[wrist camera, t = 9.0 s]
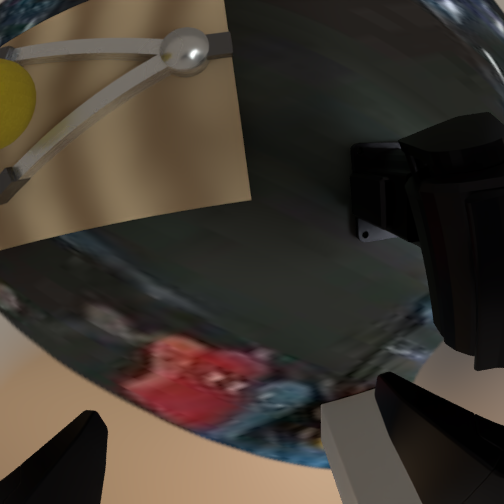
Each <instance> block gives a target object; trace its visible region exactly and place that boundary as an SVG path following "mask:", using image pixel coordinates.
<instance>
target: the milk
mask: <svg viewBox="0 0 504 504" xmlns="http://www.w3.org/2000/svg"><path fill="white" fill-rule="evenodd" d="M321 441H322V444H323V447H324V450H325V452H326V455H327V458H328V461H329V464H330V467H331V470H332V473H333V476H334V479H335V482H336V485H337V488H338V491H339V494H340V497H341V500H342V502H343V504H422V502H421V500H420V498H419V496H418V494H417V492H416V490H415V488H414V485H413V483H412V481H411V479H410V477H409V475H408V473H407V471H406V469H405V467H404V465H403V463H402V461H401V459H400V457H399V455H398V453H397V451H396V449H395V447H394V445H393V443H392V441H391V439H390V437H389V435H388V432H387V430H386V427H385V424H384V421H383V418H382V416H381V413H380V410H379V408H378V405H377V402H376V399H375V389H372V390H369V391H366V392H363V393H360V394H356V395H353V396H350V397H346V398H343V399H339V400H336V401H332V402H328V403H325V404H321Z"/></svg>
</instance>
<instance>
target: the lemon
mask: <svg viewBox="0 0 504 504" xmlns="http://www.w3.org/2000/svg"><path fill="white" fill-rule="evenodd" d="M35 106H36V89H35V84H34V82H33V80H32V78H31V76H30V74H29V73H28V72H27V71H26V70H25V69H24V68H23V67H22V66H21V65H19V64H18V63H16V62H13V61H10V60H6V59H1V58H0V149H2V148H4V147H6V146H8V145H10V144H11V143H13V142H14V141H15V140H16V139H17V138H18V137H19V136H20V135H21V134H22V133H23V132H24V131H25V129H26V128H27V126H28V124H29V123H30V121H31V119H32V116H33V113H34V111H35Z"/></svg>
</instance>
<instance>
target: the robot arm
mask: <svg viewBox="0 0 504 504" xmlns="http://www.w3.org/2000/svg"><path fill="white" fill-rule="evenodd" d="M398 142H399V143H357V144H354V145H353V146H352V147H351V159H352V170H353V173H352V175H351V176H350V181H351V195H352V212H353V215H354V216H356V235H357V238H358V239H359V240H361V241H362V242H369V241H376V240H382V239H388V238H394V237H400V238H402V239H404V240H406V241H408V242H411V243H413V244H415V245H417V246H419V247H421V250H422V254H423V259H424V264H425V269H426V275H427V280H428V286H429V292H430V298H431V305H432V313H433V321H434V324H435V326H436V327H437V329H438V330H439V332H440V334H441V335H442V336H443V337H444V342H445V344H447V345H448V346H450V347H451V348H453V349H454V350H456V351H459V352H461V353H464V354H467V355H470V356H475V360H474V369H475V370H477V371H481V370H487V369H492V368H504V125H503V124H502V123H501V122H500V121H499V120H498V119H497V118H495V117H494V116H493V115H492V114H491V113H489V112H485V113H477V114H470V115H464V116H458V117H455V118H452V119H450V120H447V121H444V122H442V123H439V124H437V125H434V126H432V127H429V128H427V129H424V130H422V131H419V132H417V133H415V134H412V135H410V136H407V137H405V138H402V139H400V140H398ZM357 148H360V149H361V153H360V155H359V154H358V153H357ZM364 231H366V235H365V236H364V237H362V233H363V232H364ZM375 399H376V402H377V405H378V408H379V410H380V413H381V416H382V418H383V421H384V424H385V427H386V430H387V432H388V435H389V437H390V439H391V441H392V443H393V445H394V447H395V449H396V451H397V453H398V455H399V457H400V459H401V461H402V463H403V465H404V467H405V469H406V471H407V473H408V475H409V477H410V479H411V481H412V483H413V485H414V488H415V490H416V492H417V494H418V496H419V498H420V500H421V502H422V504H504V426H503V425H500V424H497V423H495V422H492V421H490V420H488V419H486V418H483V417H481V416H479V415H477V414H475V415H474V413H473V412H470V411H468V410H466V409H464V408H462V407H460V406H458V405H456V404H454V403H452V402H450V401H448V400H446V399H444V398H441V397H439V396H437V395H435V394H433V393H431V392H429V391H427V390H425V389H423V388H421V387H419V386H418V385H416V384H414V383H412V382H410V381H408V380H406V379H404V378H402V377H400V376H398V375H396V374H394V373H392V372H386V373H383V374H380V375H378V377H377V381H376V387H375ZM107 438H108V430H107V426H106V425H105V423H104V422H103V420H102V419H101V417H100V415H99V414H98V412H96V411H91V410H86V411H84V412H83V413H81V414H80V415H79V416H78V417H77V418H75V419H74V420H73V421H72V422H71V423H70V424H68V425H67V426H66V427H65V428H64V429H62V430H61V431H60V432H59V433H58V434H57V435H55V436H54V437H53V438H52V439H51V440H50V441H48V442H47V443H46V444H45V445H44V446H42V447H41V448H40V449H39V450H38V451H37V452H35V453H34V454H33V455H32V456H31V457H30V458H28V459H27V460H26V461H25V462H23V463H22V465H21V466H19V467H18V468H16V469H15V470H14V471H13V472H11V473H10V474H9V475H8V476H6V477H5V478H4V479H2V480H1V481H0V504H100V501H101V495H102V488H103V481H104V475H105V466H106V452H107Z"/></svg>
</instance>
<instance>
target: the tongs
mask: <svg viewBox="0 0 504 504" xmlns="http://www.w3.org/2000/svg"><path fill="white" fill-rule="evenodd" d="M229 57H233V47H232V40H231V33H230V32H221V33H213V34H206V35H205V34H204V33H203V32H202V31H200V30H198V29H196V28H191V27H184V28H179V29H176V30H174V31H172V32H170V33H169V34H168V35H167V36H166V37H165V38H164V39H151V38H93V39H78V40H67V41H58V42H50V43H43V44H36V45H30V46H25V47H20V48H14V47H12V46H5V47H1V48H0V58H1V59H6V60H10V61H13V62H16V63H18V64H19V65H21V66H25V65H33V64H41V63H51V62H64V61H83V60H126V61H146V62H144V63H142V64H141V65H139V66H137V67H136V68H134V69H132V70H131V71H129V72H128V73H126V74H124V75H123V76H121V77H120V78H118V79H117V80H115V81H114V82H112V83H111V84H109V85H108V86H106V87H105V88H104V89H102V90H101V91H99V92H98V93H97V94H95V95H94V96H92V97H91V98H90V99H88V100H87V101H86V102H84V103H83V104H82V105H80V106H79V107H78V108H77V109H75V110H74V111H73V112H72V113H70V114H69V115H68V116H67V117H66V118H64V119H63V120H62V121H61V122H60V123H58V124H57V125H56V126H55V127H54V128H53V129H51V130H50V131H49V132H48V133H47V134H46V135H45V136H44V137H43V138H42V139H40V140H39V141H38V142H37V143H36V144H35V145H34V146H33V147H32V148H31V149H30V150H29V151H28V152H27V153H26V154H25V155H24V156H23V157H22V158H21V159H20V160H19V161H18V162H17V163H16V164H15V165H14V166H13V167H6V168H5V169H4V170H3V171H2V172H1V173H0V205H2V204H6V203H8V201H9V200H10V199H11V198H12V197H13V196H14V195H15V194H16V193H17V192H18V191H19V190H20V189H21V188H22V187H23V186H24V185H25V184H26V183H27V182H28V181H29V180H30V179H31V177H32V176H33V175H34V174H35V173H36V172H38V171H39V170H40V169H41V168H42V167H43V166H44V165H45V164H46V163H47V162H48V161H50V160H51V159H52V158H53V157H54V156H55V155H56V154H57V153H59V152H60V151H61V150H62V149H63V148H65V147H66V146H67V145H68V144H69V143H71V142H72V141H73V140H74V139H76V138H77V137H78V136H79V135H81V134H82V133H83V132H84V131H86V130H87V129H88V128H90V127H91V126H92V125H94V124H95V123H96V122H98V121H99V120H101V119H102V118H103V117H105V116H106V115H108V114H109V113H110V112H112V111H113V110H115V109H116V108H118V107H119V106H121V105H122V104H124V103H125V102H127V101H128V100H130V99H131V98H133V97H135V96H136V95H138V94H139V93H141V92H143V91H144V90H146V89H147V88H149V87H151V86H153V85H154V84H156V83H158V82H159V81H161V80H163V79H165V78H167V77H168V76H170V75H172V74H174V75H175V76H178V77H183V78H187V77H193V76H196V75H198V74H200V73H201V72H202V71H204V70H205V68H206V67H207V66H208V64H209V61H210V60H213V59H221V58H229Z"/></svg>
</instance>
